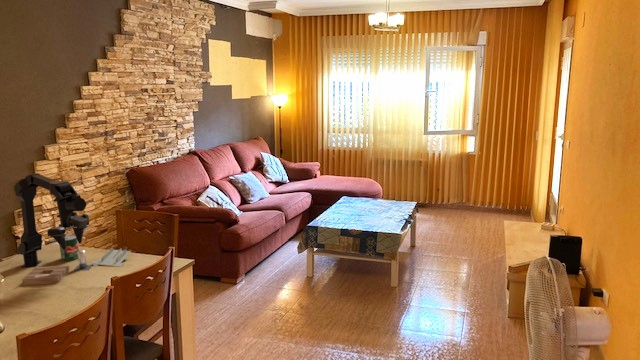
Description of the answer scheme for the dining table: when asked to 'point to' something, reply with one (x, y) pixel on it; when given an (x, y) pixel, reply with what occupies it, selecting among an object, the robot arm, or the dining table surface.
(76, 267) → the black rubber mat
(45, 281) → the walnut hole plate
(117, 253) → the metal bracket
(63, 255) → the canned tomato
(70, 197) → the robot arm
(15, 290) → the dining table surface
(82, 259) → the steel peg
